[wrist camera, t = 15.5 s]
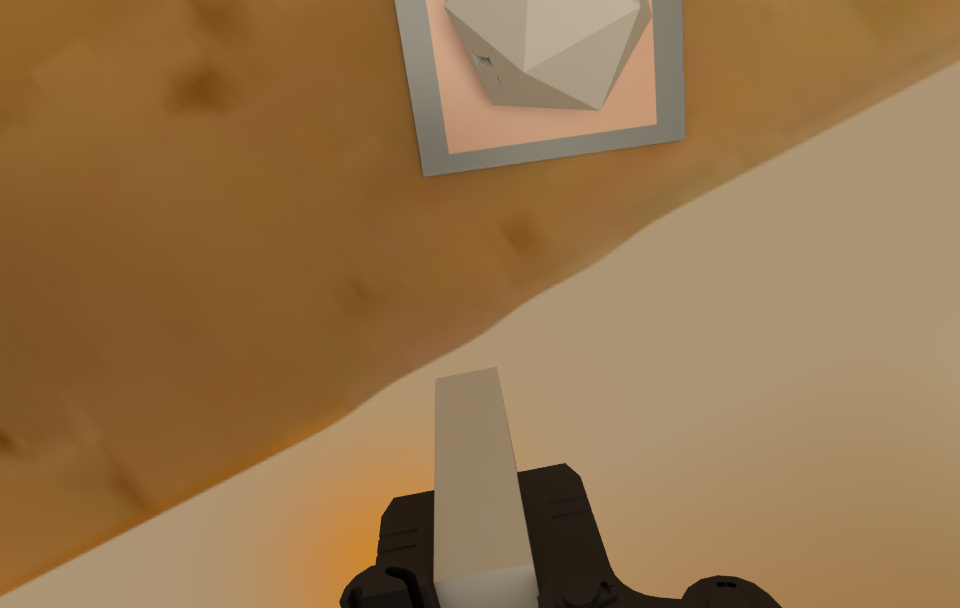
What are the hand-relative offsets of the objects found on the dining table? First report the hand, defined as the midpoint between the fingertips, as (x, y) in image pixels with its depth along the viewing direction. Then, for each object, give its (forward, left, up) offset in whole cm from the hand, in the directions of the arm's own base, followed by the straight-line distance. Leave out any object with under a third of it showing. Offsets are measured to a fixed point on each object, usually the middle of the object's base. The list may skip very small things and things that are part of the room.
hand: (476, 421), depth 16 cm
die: (+5, +10, -21) cm, 24 cm away
